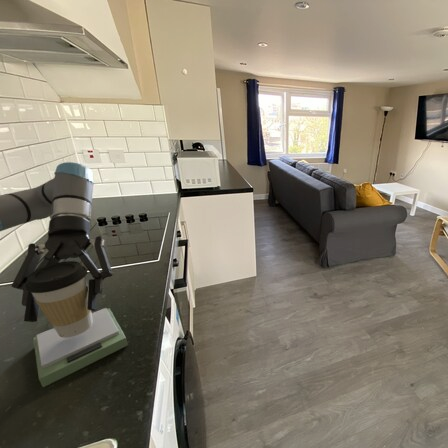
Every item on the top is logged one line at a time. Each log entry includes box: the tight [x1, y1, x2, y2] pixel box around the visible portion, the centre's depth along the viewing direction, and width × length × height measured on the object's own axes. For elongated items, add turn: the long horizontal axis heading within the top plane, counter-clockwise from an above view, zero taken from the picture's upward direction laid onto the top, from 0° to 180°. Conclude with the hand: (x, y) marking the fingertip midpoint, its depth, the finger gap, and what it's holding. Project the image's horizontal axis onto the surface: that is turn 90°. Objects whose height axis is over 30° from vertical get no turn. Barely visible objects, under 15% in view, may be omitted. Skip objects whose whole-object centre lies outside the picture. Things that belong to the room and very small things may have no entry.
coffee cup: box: [26, 260, 93, 338], centre depth 57 cm, size 10×10×15 cm
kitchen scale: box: [32, 307, 129, 388], centre depth 61 cm, size 15×15×3 cm
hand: (62, 315), depth 55 cm, fingers closed on coffee cup, 10 cm apart
